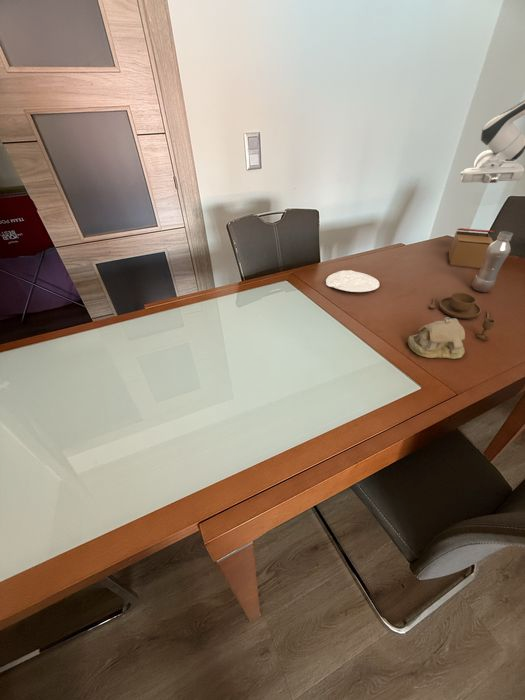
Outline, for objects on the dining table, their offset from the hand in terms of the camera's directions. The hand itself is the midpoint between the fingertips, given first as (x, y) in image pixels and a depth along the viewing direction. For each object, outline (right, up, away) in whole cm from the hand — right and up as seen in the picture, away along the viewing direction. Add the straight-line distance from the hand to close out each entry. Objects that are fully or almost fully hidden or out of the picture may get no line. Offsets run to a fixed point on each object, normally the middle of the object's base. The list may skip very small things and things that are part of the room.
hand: (493, 180), depth 116 cm
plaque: (-54, -39, +1) cm, 67 cm away
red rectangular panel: (-2, -16, +8) cm, 18 cm away
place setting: (-27, -55, -20) cm, 64 cm away
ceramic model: (-40, -65, -31) cm, 82 cm away
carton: (-3, -27, +12) cm, 30 cm away
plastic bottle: (-10, -44, -7) cm, 46 cm away
